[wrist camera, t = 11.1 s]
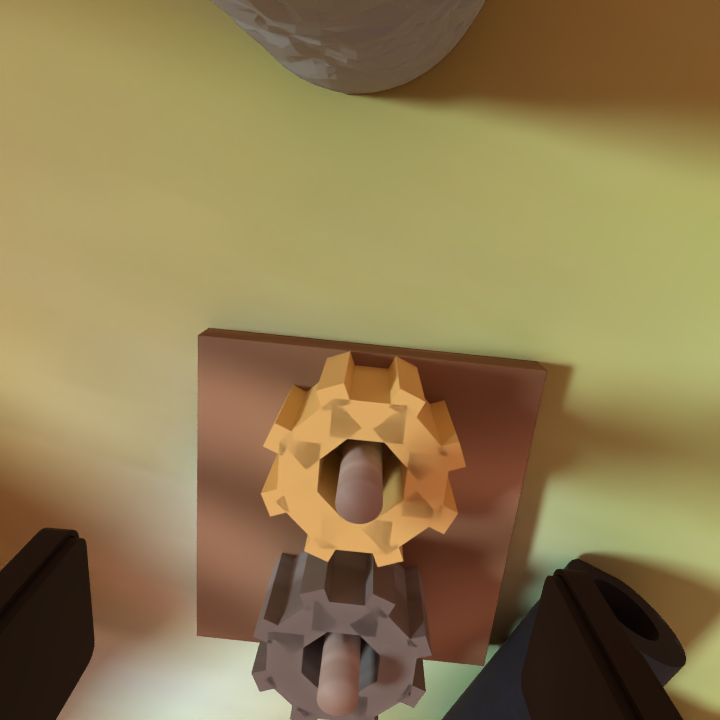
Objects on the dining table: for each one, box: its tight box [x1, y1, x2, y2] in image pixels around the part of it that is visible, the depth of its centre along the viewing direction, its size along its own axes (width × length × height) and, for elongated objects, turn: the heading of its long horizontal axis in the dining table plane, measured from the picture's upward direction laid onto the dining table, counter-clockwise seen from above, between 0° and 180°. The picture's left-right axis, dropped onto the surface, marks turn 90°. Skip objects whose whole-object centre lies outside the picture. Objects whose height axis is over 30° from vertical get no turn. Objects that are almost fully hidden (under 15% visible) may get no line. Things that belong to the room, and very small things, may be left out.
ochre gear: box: [261, 351, 466, 567], centre depth 18 cm, size 6×6×4 cm
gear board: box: [197, 328, 547, 720], centre depth 19 cm, size 14×13×6 cm
